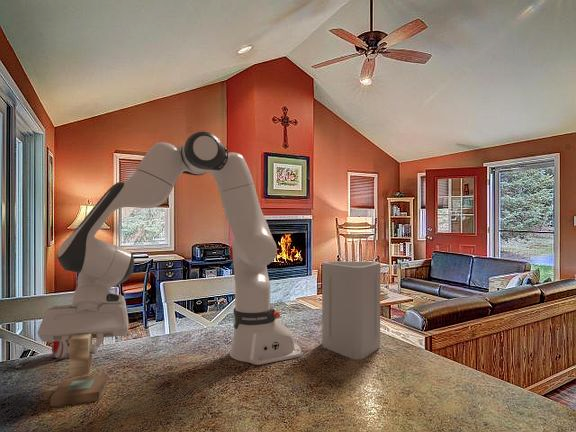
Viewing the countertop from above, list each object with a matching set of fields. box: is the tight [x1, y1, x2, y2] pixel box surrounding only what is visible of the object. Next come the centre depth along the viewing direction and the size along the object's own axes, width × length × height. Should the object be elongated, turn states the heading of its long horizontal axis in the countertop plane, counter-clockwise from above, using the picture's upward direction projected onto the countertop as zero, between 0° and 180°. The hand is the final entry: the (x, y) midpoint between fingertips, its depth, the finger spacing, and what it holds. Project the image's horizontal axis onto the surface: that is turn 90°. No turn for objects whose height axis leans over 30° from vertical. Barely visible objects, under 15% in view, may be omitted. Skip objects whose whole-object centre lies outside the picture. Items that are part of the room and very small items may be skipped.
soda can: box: [51, 341, 69, 360], centre depth 112 cm, size 7×7×12 cm
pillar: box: [68, 333, 93, 378], centre depth 89 cm, size 4×4×9 cm
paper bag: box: [321, 260, 381, 360], centre depth 118 cm, size 19×15×28 cm
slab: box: [50, 373, 109, 407], centre depth 89 cm, size 10×10×3 cm
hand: (80, 354), depth 88 cm, fingers closed on pillar, 4 cm apart
